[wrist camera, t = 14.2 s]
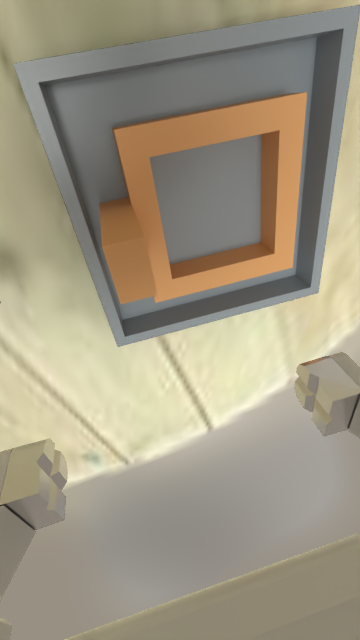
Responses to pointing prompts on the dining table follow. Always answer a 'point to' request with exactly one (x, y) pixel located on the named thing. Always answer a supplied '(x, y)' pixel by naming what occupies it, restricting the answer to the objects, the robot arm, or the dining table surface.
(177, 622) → the robot arm
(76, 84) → the tray
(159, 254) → the ring
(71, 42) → the dining table surface
